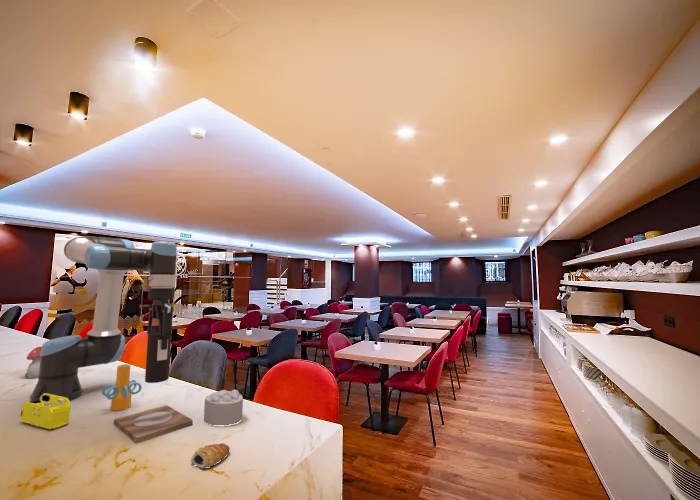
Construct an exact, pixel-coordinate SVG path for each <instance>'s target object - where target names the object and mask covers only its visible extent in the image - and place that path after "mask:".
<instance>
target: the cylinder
mask: <svg viewBox="0 0 700 500" xmlns="http://www.w3.org/2000/svg"><path fill="white" fill-rule="evenodd" d="M130 376H131V364H130V363H126V364H119V365H117V367H116V377H115V378H116V380H115V385H114V384H107V385H105V386H104V387H103V388H102V391H101V394H102V396H104V397H106V398H107V399H108V400H111V402H110V410H111V411H123V410H127V409H129V408H130V407H131V404H132V395H136V394H138V393H140V392H141V391H142V384H141V383H140V382H137V381H136V380H134V379H131V380H130V378H131V377H130ZM132 386H133V387H132ZM137 386H138V389H137V391H134V390H135V389H136V388H137ZM131 387H132V388H131ZM107 388H108V389H107ZM106 389H107V391H106ZM112 390H113V391H112ZM105 391H106V392H105ZM111 391H112V392H111Z"/></svg>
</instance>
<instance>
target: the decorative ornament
mask: <svg viewBox="0 0 700 500" xmlns="http://www.w3.org/2000/svg"><path fill="white" fill-rule="evenodd" d="M41 349H42V346H36V347H35V348H33V349H32V350H31V351H30V352H28V354H27V356H26V360H28V361H31V362H30V363H29V364H28V366H27V369H26V372H25V375H24V376H25V379H27V378H31V379H37V378H36V377H38V378H39V367H40V357H41V356H40V353H41Z"/></svg>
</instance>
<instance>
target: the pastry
mask: <svg viewBox="0 0 700 500" xmlns="http://www.w3.org/2000/svg"><path fill="white" fill-rule="evenodd" d="M229 450H230V446H229V445H227V443H223V442H222V443H213V444H208V445H207V444H206V445H204V447H200V448H198V449H197V450H196V451H195V452H194V454H193V455H192V457H191V459H190V462H191V464H192V463H193V464H194V465H197V466H199V467H198V468H200V467H201V469H203V468H205V469H207V468H206V467H209V466H212V465H214V464H215V465H217V464H216V463H217V462H219V461H220V460H222V459H223V458H224V457H225V456H226V455H227V454H228V453H229V454H230V452H229ZM230 451H231V450H230ZM193 464H192V465H193ZM215 465H214V466H215Z"/></svg>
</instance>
